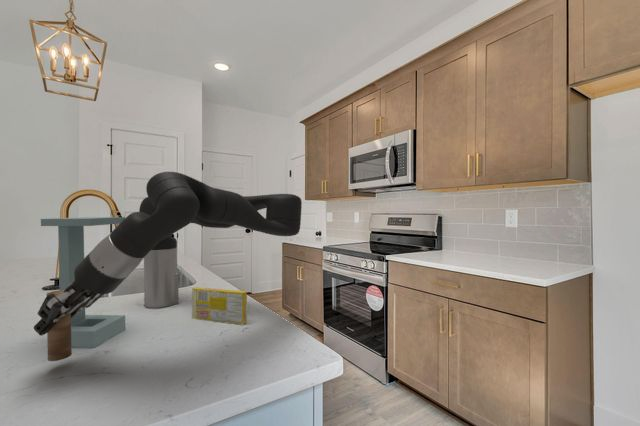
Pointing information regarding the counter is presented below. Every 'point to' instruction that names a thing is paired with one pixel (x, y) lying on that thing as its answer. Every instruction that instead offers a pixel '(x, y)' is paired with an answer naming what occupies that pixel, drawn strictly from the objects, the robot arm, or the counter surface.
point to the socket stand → (71, 252)
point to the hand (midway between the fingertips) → (49, 326)
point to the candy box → (219, 305)
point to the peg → (60, 336)
